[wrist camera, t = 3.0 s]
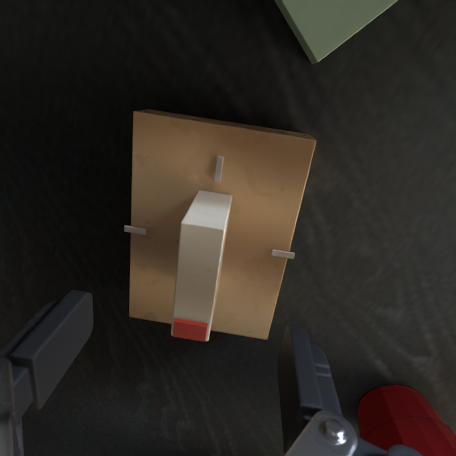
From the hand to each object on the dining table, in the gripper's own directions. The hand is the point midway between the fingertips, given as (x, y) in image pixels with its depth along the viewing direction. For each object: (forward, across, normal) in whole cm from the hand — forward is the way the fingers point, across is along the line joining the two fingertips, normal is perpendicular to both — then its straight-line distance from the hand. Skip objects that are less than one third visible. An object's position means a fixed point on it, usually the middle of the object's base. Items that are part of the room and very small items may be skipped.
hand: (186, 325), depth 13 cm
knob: (+8, 0, 0) cm, 8 cm away
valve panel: (+10, 0, 0) cm, 10 cm away
